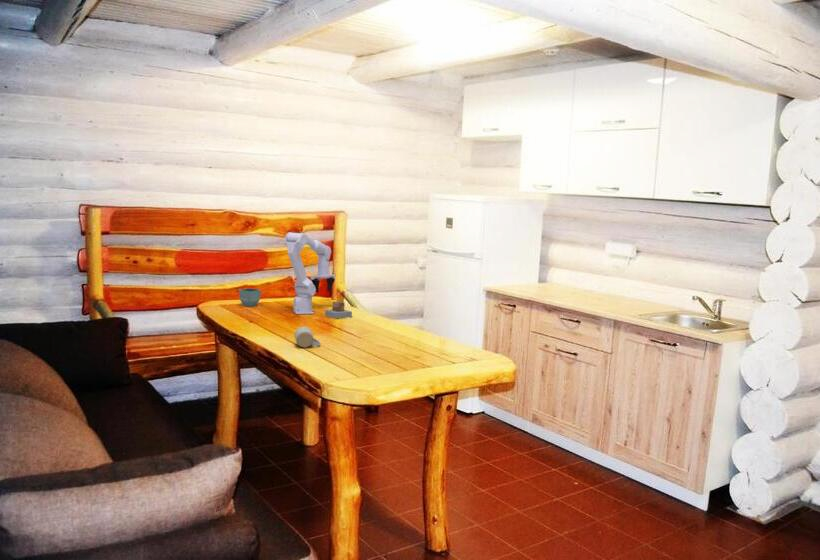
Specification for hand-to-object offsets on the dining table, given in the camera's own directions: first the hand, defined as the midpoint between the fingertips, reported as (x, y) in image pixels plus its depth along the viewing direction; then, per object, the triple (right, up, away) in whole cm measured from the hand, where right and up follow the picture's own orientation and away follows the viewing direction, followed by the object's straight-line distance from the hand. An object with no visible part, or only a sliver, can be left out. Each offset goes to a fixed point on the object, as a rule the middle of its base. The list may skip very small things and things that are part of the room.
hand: (322, 291), depth 375 cm
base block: (+10, -13, -19) cm, 25 cm away
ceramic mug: (+4, -22, -85) cm, 88 cm away
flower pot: (-40, -8, +2) cm, 41 cm away
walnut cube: (+11, -10, -19) cm, 24 cm away
